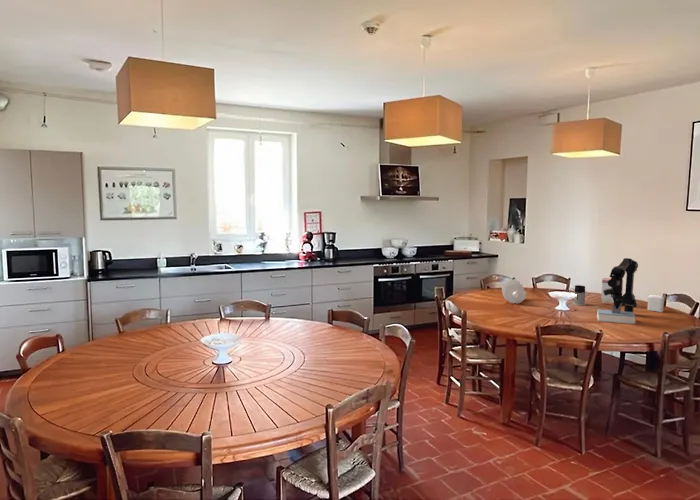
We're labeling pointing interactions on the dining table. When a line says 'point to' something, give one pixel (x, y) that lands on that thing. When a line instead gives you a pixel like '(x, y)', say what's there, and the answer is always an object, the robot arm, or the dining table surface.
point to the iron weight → (616, 309)
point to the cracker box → (607, 298)
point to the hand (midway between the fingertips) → (616, 307)
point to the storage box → (615, 319)
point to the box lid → (608, 312)
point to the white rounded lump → (513, 291)
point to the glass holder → (579, 295)
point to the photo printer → (655, 303)
